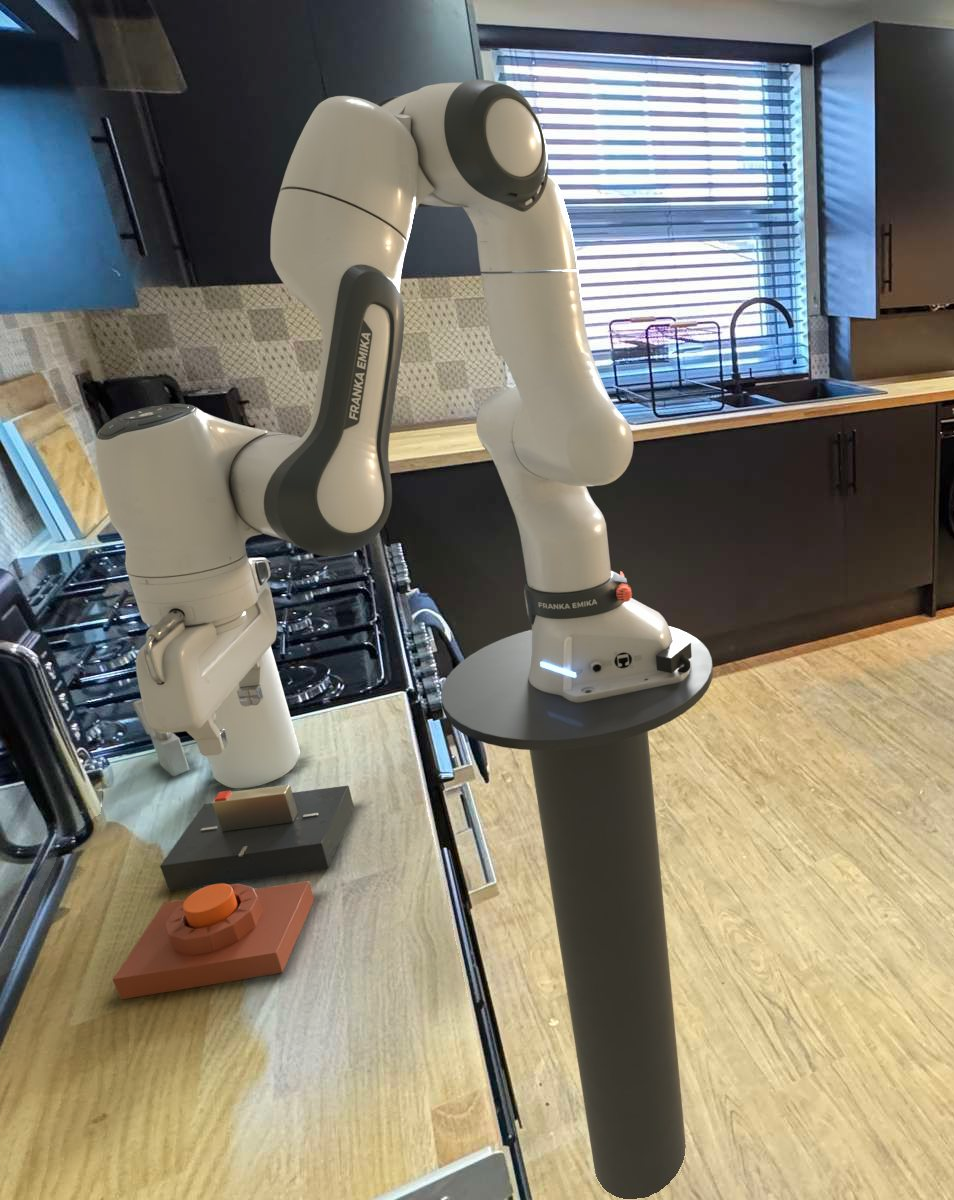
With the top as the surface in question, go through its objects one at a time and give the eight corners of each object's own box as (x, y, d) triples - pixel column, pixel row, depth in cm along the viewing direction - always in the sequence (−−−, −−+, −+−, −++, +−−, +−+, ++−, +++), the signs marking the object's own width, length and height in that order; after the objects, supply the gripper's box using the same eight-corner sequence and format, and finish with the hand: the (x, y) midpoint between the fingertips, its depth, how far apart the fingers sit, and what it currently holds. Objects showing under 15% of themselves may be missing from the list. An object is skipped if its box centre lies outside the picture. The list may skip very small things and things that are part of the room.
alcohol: (215, 800, 94) (130, 544, 82) (215, 763, 101) (137, 522, 89) (304, 774, 98) (236, 529, 87) (299, 741, 105) (235, 509, 94)
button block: (314, 899, 79) (304, 865, 77) (282, 972, 71) (270, 936, 69) (171, 921, 77) (157, 886, 75) (120, 999, 68) (104, 962, 67)
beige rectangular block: (298, 812, 86) (289, 782, 85) (293, 822, 85) (284, 791, 84) (227, 822, 85) (217, 791, 84) (221, 832, 84) (211, 800, 82)
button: (244, 896, 74) (239, 880, 74) (228, 925, 71) (222, 908, 70) (198, 902, 74) (193, 886, 73) (180, 932, 70) (174, 916, 70)
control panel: (355, 806, 92) (349, 782, 91) (327, 870, 83) (320, 844, 82) (213, 825, 90) (205, 800, 88) (167, 893, 80) (157, 866, 79)
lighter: (190, 769, 99) (170, 710, 96) (173, 776, 98) (152, 716, 95) (167, 750, 103) (147, 693, 100) (150, 756, 102) (130, 698, 99)
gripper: (185, 633, 67) (229, 781, 72) (274, 554, 85) (304, 676, 91) (94, 641, 66) (146, 790, 71) (204, 558, 84) (238, 682, 89)
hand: (235, 725), depth 81 cm, fingers open, 8 cm apart
